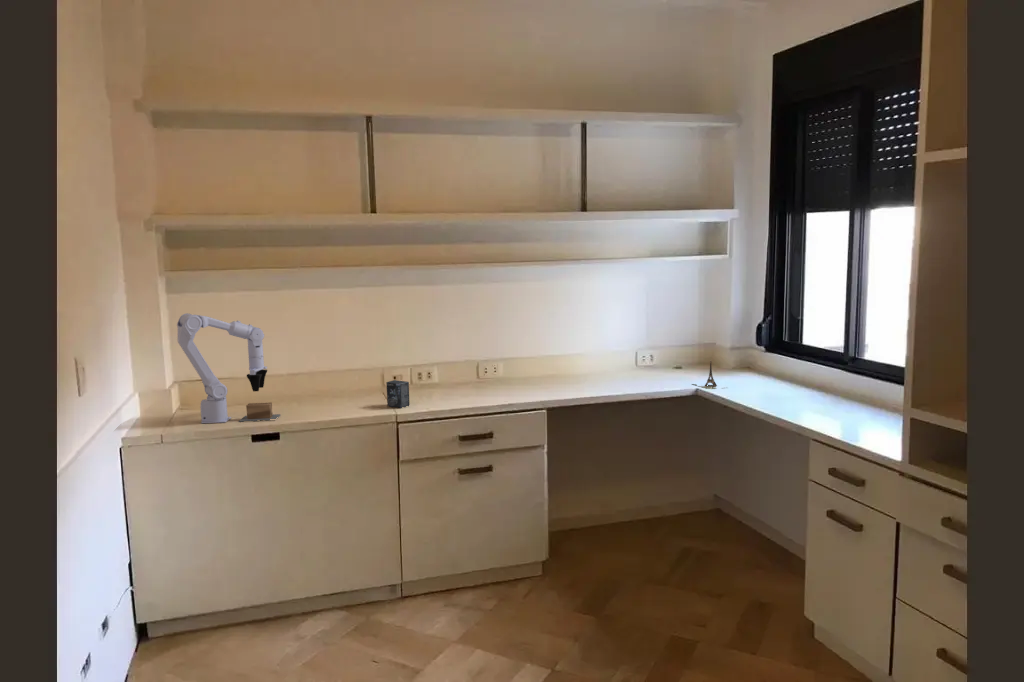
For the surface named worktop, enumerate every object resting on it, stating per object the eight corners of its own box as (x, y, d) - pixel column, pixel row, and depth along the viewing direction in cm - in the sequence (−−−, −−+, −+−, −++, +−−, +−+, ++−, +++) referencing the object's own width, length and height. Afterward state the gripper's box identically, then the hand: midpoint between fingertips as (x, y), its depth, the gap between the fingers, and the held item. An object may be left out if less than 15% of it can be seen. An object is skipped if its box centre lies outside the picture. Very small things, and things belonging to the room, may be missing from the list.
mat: (239, 422, 299) (239, 420, 299) (245, 416, 308) (245, 415, 308) (275, 420, 300) (275, 419, 300) (280, 415, 309) (280, 414, 309)
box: (387, 406, 321) (385, 382, 319) (396, 404, 325) (395, 379, 324) (401, 408, 316) (399, 383, 315) (410, 406, 321) (409, 381, 320)
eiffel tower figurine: (690, 385, 353) (690, 357, 351) (708, 383, 357) (708, 355, 355) (710, 391, 339) (710, 361, 338) (729, 389, 343) (729, 359, 342)
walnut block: (270, 418, 302) (269, 404, 302) (247, 419, 302) (246, 405, 301) (272, 415, 306) (271, 402, 306) (249, 416, 305) (248, 403, 305)
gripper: (261, 358, 302) (263, 392, 303) (270, 353, 316) (272, 385, 318) (243, 359, 301) (245, 393, 303) (252, 354, 315) (255, 386, 317)
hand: (258, 389), depth 310 cm, fingers open, 7 cm apart
